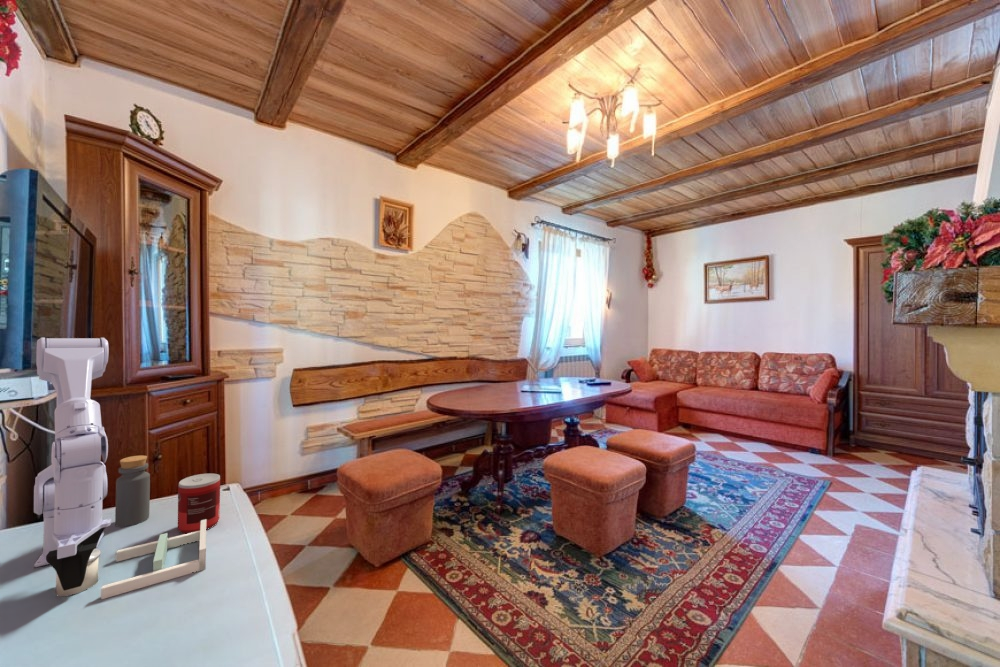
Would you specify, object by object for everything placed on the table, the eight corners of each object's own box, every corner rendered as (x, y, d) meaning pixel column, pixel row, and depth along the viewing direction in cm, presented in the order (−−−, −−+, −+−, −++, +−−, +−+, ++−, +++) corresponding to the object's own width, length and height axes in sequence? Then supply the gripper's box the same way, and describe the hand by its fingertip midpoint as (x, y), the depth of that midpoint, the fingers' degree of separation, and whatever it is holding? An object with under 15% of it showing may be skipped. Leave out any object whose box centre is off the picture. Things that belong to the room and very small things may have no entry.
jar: (59, 584, 67) (60, 555, 67) (102, 572, 71) (103, 545, 71) (49, 601, 63) (50, 570, 63) (95, 588, 66) (96, 559, 66)
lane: (117, 559, 75) (117, 539, 75) (206, 537, 83) (206, 519, 83) (100, 599, 64) (101, 576, 64) (205, 569, 72) (205, 548, 72)
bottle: (127, 528, 86) (129, 463, 86) (108, 525, 88) (109, 461, 88) (155, 516, 92) (156, 455, 92) (137, 513, 93) (138, 453, 93)
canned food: (199, 516, 92) (200, 472, 92) (228, 519, 91) (228, 474, 91) (167, 532, 85) (168, 484, 85) (198, 536, 84) (199, 486, 84)
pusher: (159, 550, 78) (159, 534, 78) (167, 548, 78) (167, 532, 78) (152, 579, 69) (153, 561, 69) (161, 576, 69) (162, 559, 69)
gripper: (102, 511, 64) (100, 591, 64) (118, 483, 75) (117, 551, 75) (38, 524, 59) (36, 610, 59) (66, 492, 71) (64, 564, 71)
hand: (77, 578), depth 67 cm, fingers closed on jar, 5 cm apart
